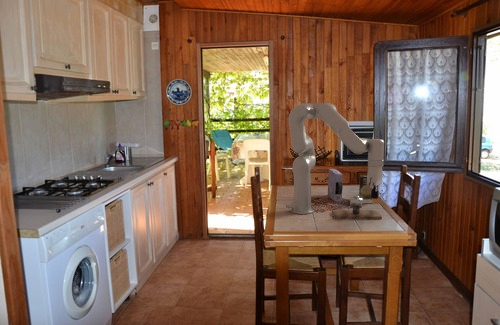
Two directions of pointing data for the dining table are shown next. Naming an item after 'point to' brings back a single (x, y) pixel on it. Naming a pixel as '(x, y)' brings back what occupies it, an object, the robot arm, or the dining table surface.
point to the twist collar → (359, 200)
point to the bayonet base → (356, 214)
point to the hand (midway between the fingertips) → (374, 198)
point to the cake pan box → (335, 185)
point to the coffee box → (364, 188)
